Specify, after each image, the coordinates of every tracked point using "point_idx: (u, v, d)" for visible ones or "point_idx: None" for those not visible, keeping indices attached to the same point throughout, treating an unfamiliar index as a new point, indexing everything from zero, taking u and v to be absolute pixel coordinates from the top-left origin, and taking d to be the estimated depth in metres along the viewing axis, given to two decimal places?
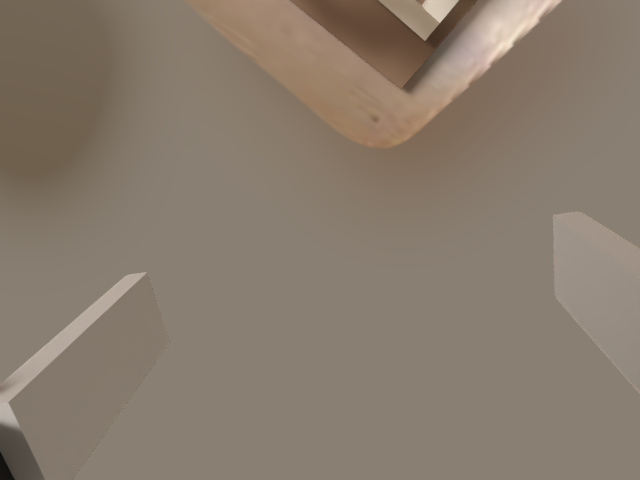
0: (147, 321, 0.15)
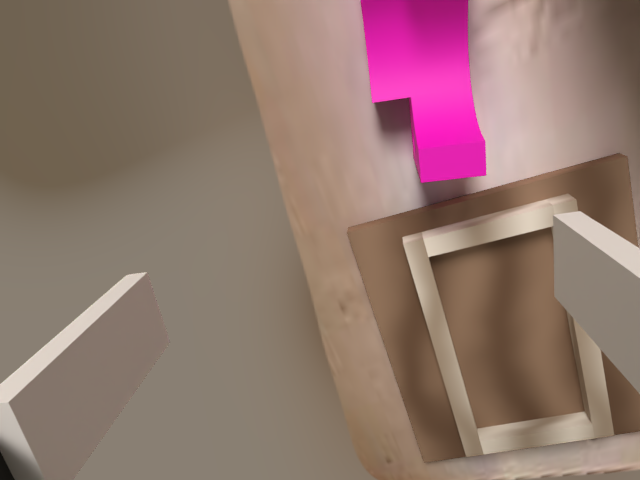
0: (147, 321, 0.15)
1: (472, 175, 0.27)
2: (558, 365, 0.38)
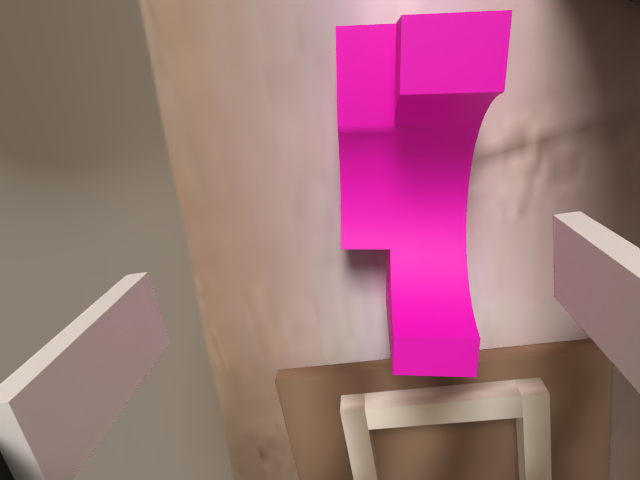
0: (147, 321, 0.15)
1: (459, 375, 0.21)
2: None
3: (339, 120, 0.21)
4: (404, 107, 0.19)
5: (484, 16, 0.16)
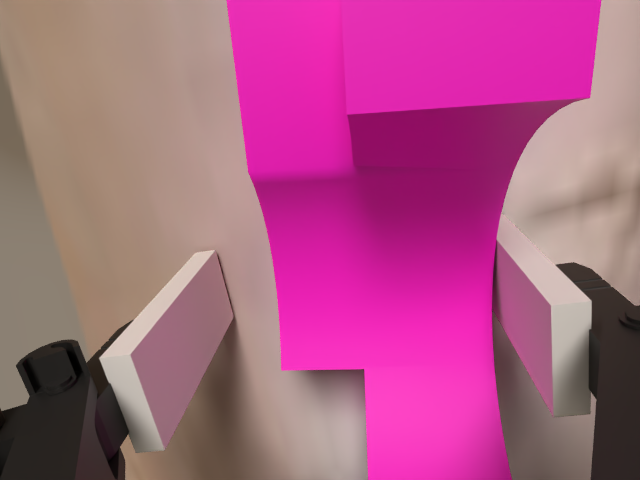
0: (217, 295, 0.16)
1: None
2: None
3: (250, 161, 0.11)
4: (367, 135, 0.09)
5: None
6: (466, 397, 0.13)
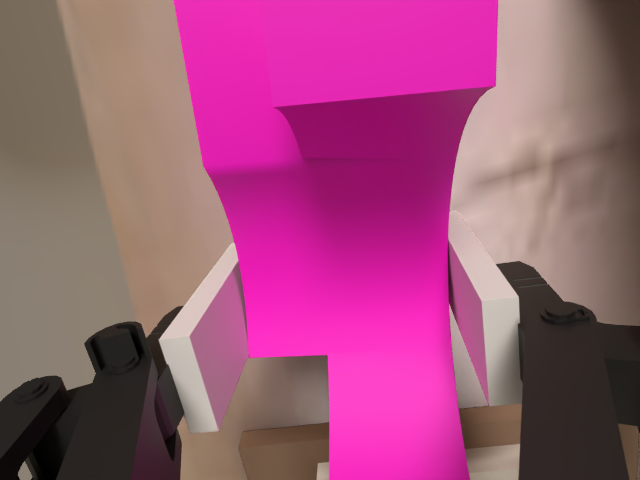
0: None
1: None
2: None
3: (204, 155, 0.12)
4: (307, 128, 0.10)
5: None
6: (425, 380, 0.14)
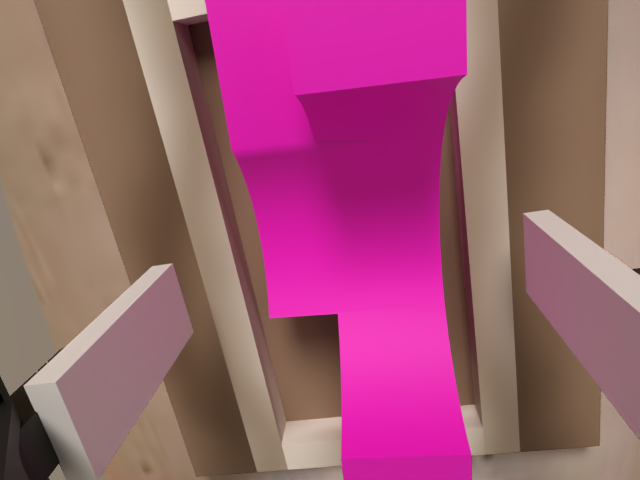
0: (173, 310, 0.15)
1: None
2: None
3: (232, 140, 0.14)
4: (319, 114, 0.12)
5: None
6: (422, 332, 0.16)
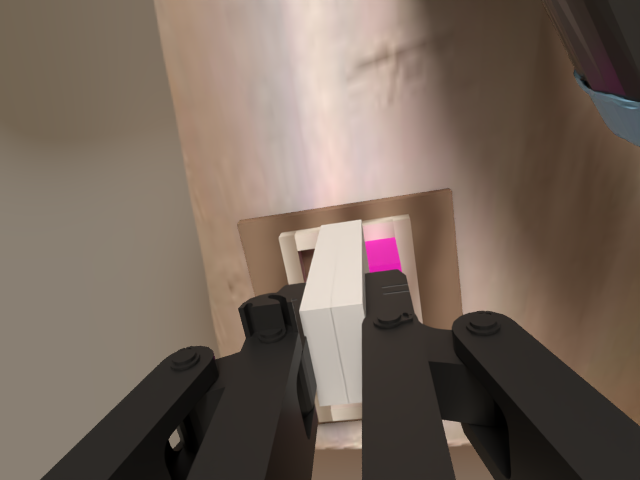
0: None
1: None
2: None
3: None
4: None
5: (389, 266, 0.36)
6: None
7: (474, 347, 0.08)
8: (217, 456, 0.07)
